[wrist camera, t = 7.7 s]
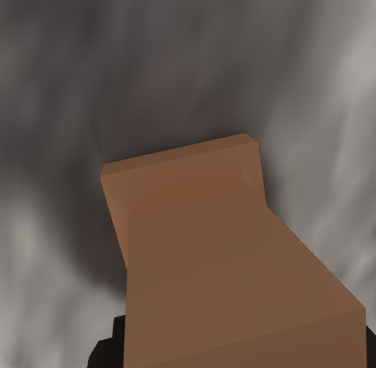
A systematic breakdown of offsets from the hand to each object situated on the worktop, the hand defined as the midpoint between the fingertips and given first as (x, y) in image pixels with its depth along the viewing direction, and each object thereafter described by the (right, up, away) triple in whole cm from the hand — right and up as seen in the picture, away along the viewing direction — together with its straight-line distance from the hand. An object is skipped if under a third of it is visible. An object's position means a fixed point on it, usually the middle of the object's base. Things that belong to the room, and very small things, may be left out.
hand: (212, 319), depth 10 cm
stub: (0, 0, +1) cm, 1 cm away
